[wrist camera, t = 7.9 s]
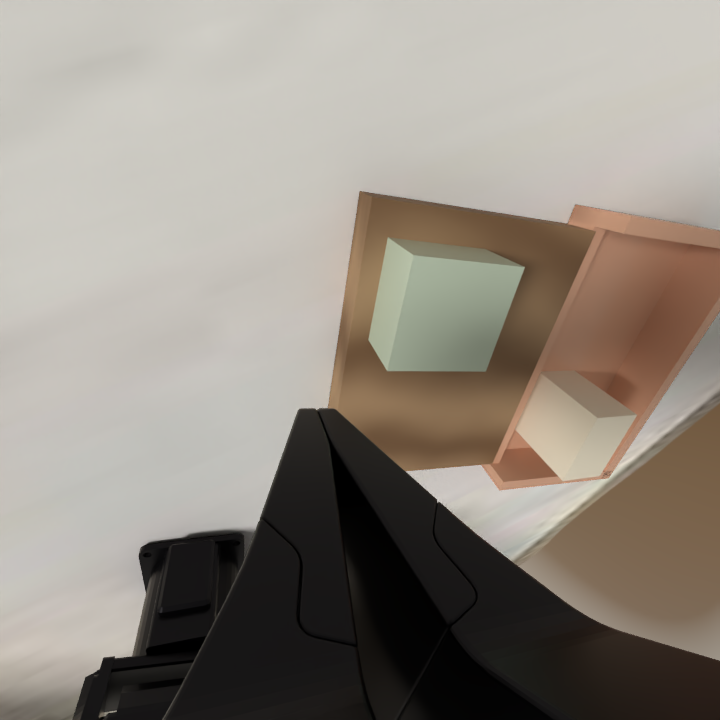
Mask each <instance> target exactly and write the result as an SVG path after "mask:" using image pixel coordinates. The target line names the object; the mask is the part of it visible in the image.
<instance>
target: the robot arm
mask: <svg viewBox="0 0 720 720" xmlns="http://www.w3.org/2000/svg"><path fill="white" fill-rule="evenodd" d="M139 560H140V565H141V570H142V575H143V580H144V585H145V590H146V597H145V601H144V606H143V610H142V615H141V619H140V624H139V628H138V633H137V637H136V642H135V646H134V651H133V655H132V657H124V658H115V656H114V657H104V658H103V661H102V664H101V667H100V670H97V672H95V673H93V674H91V675H89V676H87V677H85V681H84V684H83V687H82V690H81V694H80V697H79V700H78V704H77V707H76V710H75V713H74V716H73V719H72V720H720V661H719V660H715V659H712V658H709V657H705V656H702V655H699V654H695V653H692V652H689V651H685V650H682V649H679V648H675V647H672V646H669V645H665V644H662V643H658V642H655V641H652V640H648V639H645V638H641V637H638V636H635V635H632V634H628V633H625V632H622V631H619V630H616V629H613V628H610V627H608V626H606V625H603V624H601V623H599V622H597V621H595V620H593V619H591V618H589V617H588V616H586V615H584V614H583V613H581V612H579V611H578V610H576V609H575V608H573V607H572V606H570V605H569V604H567V603H566V602H565V601H563V600H562V599H561V598H559V597H558V596H556V595H555V594H554V593H553V592H551V591H550V590H549V589H548V588H546V587H545V586H544V585H542V584H541V583H540V582H538V581H537V580H536V579H534V578H533V577H532V576H530V575H529V574H528V573H526V572H525V571H524V570H522V569H521V568H520V567H518V566H517V565H516V564H514V563H513V562H512V561H511V560H509V559H508V558H507V557H505V556H504V555H503V554H501V553H500V552H499V551H497V550H496V549H495V548H494V547H492V546H491V545H490V544H489V543H487V542H486V541H485V540H483V539H482V538H481V537H480V536H478V535H477V534H476V533H475V532H473V531H472V530H471V529H470V528H469V527H468V526H466V525H465V524H464V523H463V522H462V521H461V520H459V519H458V518H457V517H456V516H455V515H454V514H452V513H451V512H450V511H449V510H448V509H447V508H446V507H445V506H444V505H442V504H441V503H440V502H438V503H437V499H436V498H434V497H433V496H432V495H431V494H430V493H429V492H428V491H427V490H425V489H424V488H423V487H422V486H421V485H420V484H419V483H418V482H417V481H415V480H414V479H413V478H412V477H411V476H410V475H409V474H408V473H406V472H405V471H404V470H403V469H402V468H401V467H400V466H399V465H398V464H396V463H395V462H394V461H393V460H392V459H391V458H390V457H389V456H388V455H386V454H385V453H384V452H383V451H382V450H381V449H380V448H379V447H377V446H376V445H375V444H374V443H373V442H372V441H371V440H370V439H369V438H367V437H366V436H365V435H364V434H363V433H362V432H361V431H360V430H358V429H357V428H356V427H355V426H354V425H353V424H352V423H351V422H350V421H348V420H347V419H346V418H345V417H344V416H343V415H342V414H341V413H339V412H338V411H337V410H336V409H334V408H320V409H318V410H316V409H314V408H308V409H299V410H298V412H297V415H296V417H295V420H294V423H293V426H292V429H291V432H290V435H289V437H288V440H287V443H286V446H285V449H284V452H283V454H282V457H281V460H280V463H279V466H278V469H277V471H276V474H275V477H274V480H273V483H272V486H271V488H270V491H269V494H268V497H267V500H266V503H265V505H264V508H263V511H262V514H261V517H260V521H259V522H258V524H257V527H256V530H255V533H254V536H253V539H252V541H251V544H250V546H249V549H248V551H247V554H246V556H245V559H244V536H243V535H242V534H231V535H222V536H214V537H206V538H198V539H189V540H181V541H173V542H165V543H157V544H148V545H144V546H142V547H141V549H140V552H139ZM115 710H117V712H114V713H108V714H107V715H106V716H104V712H109V711H115ZM103 716H104V717H103Z"/></svg>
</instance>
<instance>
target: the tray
mask: <svg viewBox="0 0 720 720" xmlns="http://www.w3.org/2000/svg"><path fill="white" fill-rule="evenodd" d="M568 224H570V225H574V226H578V227H581V228H585V229H589V230H593V231H596V233H595V235H594V237H593V239H592V242H591V244H590V246H589V248H588V251H587V253H586V255H585V257H584V260H583V262H582V264H581V266H580V268H579V271H578V273H577V275H576V277H575V280H574V282H573V284H572V286H571V289H570V291H569V293H568V295H567V298H566V300H565V302H564V304H563V307H562V309H561V311H560V313H559V315H558V318H557V320H556V322H555V324H554V327H553V329H552V331H551V333H550V336H549V338H548V340H547V342H546V345H545V347H544V349H543V351H542V354H541V356H540V358H539V360H538V362H537V365H536V367H535V369H534V371H533V374H532V376H531V378H530V380H529V383H528V385H527V387H526V389H525V392H524V394H523V396H522V398H521V400H520V403H519V405H518V407H517V409H516V412H515V414H514V416H513V418H512V421H511V423H510V425H509V427H508V430H507V432H506V434H505V436H504V439H503V441H502V443H501V445H500V447H499V450H498V452H497V454H496V456H495V459H494V461H493V463H492V464H484V465H482V467H483V468H484V470H485V471H486V472H487V474H488V475H489V476H490V478H491V479H492V481H493V482H494V483H495V485H496V486H497V488H498V489H499V490H507V489H516V488H525V487H534V486H543V485H552V484H561V483H570V482H579V481H588V480H597V479H606V478H609V477H610V475H611V474H612V472H613V471H614V469H615V468H616V466H617V465H618V463H619V462H620V460H621V459H622V457H623V456H624V454H625V453H626V451H627V450H628V448H629V447H630V445H631V444H632V442H633V441H634V439H635V438H636V436H637V435H638V433H639V432H640V430H641V429H642V427H643V426H644V424H645V423H646V421H647V420H648V418H649V417H650V415H651V414H652V412H653V411H654V409H655V408H656V406H657V405H658V403H659V402H660V400H661V399H662V397H663V396H664V394H665V393H666V391H667V390H668V388H669V387H670V385H671V384H672V382H673V381H674V379H675V378H676V376H677V375H678V373H679V372H680V370H681V369H682V367H683V366H684V364H685V363H686V361H687V360H688V358H689V357H690V355H691V354H692V352H693V351H694V349H695V348H696V346H697V345H698V343H699V342H700V340H701V339H702V337H703V336H704V334H705V333H706V331H707V330H708V328H709V327H710V325H711V324H712V322H713V321H714V319H715V318H716V316H717V315H718V313H719V312H720V231H719V230H714V229H709V228H704V227H698V226H693V225H687V224H682V223H676V222H670V221H665V220H659V219H654V218H648V217H642V216H637V215H631V214H626V213H620V212H614V211H609V210H603V209H598V208H592V207H586V206H581V205H575V207H574V209H573V212H572V214H571V217H570V219H569V222H568ZM572 370H574V371H576V372H577V373H579V374H580V375H582V376H583V377H584V378H586V379H587V380H589V381H590V382H591V383H593V384H594V385H596V386H597V387H598V388H600V389H601V390H603V391H604V392H606V393H607V394H608V395H610V396H611V397H613V398H614V399H615V400H617V401H618V402H620V403H621V404H623V405H624V406H625V407H627V408H628V409H630V410H631V411H632V412H634V413H635V414H637V416H636V418H635V419H634V421H633V423H632V424H631V426H630V428H629V429H628V431H627V433H626V434H625V436H624V437H623V439H622V441H621V442H620V444H619V446H618V447H617V449H616V450H615V452H614V454H613V455H612V457H611V459H610V460H609V462H608V463H607V465H606V467H605V468H604V470H603V472H602V473H601V475H600V476H597V477H590V478H582V479H575V480H568V481H562V480H561V479H560V478H559V477H558V476H557V474H556V473H555V472H554V471H553V470H552V469H551V468H550V467H549V466H548V465H547V464H546V463H545V461H544V460H543V459H542V458H541V457H540V456H539V455H538V454H537V453H536V452H535V451H534V450H533V448H532V447H531V446H530V445H529V444H528V443H527V442H526V441H525V440H524V439H523V438H522V437H521V435H520V434H519V433H518V432H517V431H516V430H515V427H516V425H517V423H518V421H519V419H520V416H521V414H522V412H523V410H524V408H525V405H526V403H527V401H528V399H529V397H530V395H531V392H532V390H533V388H534V386H535V384H536V381H537V379H538V377H539V375H540V373H541V372H542V371H572Z"/></svg>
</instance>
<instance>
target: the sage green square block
mask: <svg viewBox="0 0 720 720" xmlns="http://www.w3.org/2000/svg"><path fill="white" fill-rule="evenodd" d="M524 268H525V267H523V266H521V265H519V264H517V263H515V262H512V261H510V260H508V259H506V258H504V257H502V256H499V255H497V254H495V253H493V252H491V251H489V250H486V249H481V248H472V247H464V246H456V245H447V244H439V243H431V242H423V241H414V240H406V239H398V238H389V237H388V239H387V244H386V249H385V255H384V260H383V265H382V271H381V276H380V281H379V286H378V292H377V297H376V302H375V307H374V313H373V318H372V323H371V328H370V334H369V339H368V340H369V342H370V343H371V345H372V347H373V348H374V350H375V352H376V353H377V355H378V357H379V358H380V360H381V362H382V363H383V365H384V367H385V368H386V370H387V371H475V372H486V370H487V367H488V364H489V362H490V359H491V356H492V354H493V351H494V348H495V346H496V343H497V340H498V338H499V335H500V332H501V330H502V327H503V324H504V322H505V319H506V316H507V314H508V311H509V308H510V306H511V303H512V300H513V298H514V295H515V292H516V290H517V287H518V284H519V282H520V279H521V276H522V274H523V271H524Z"/></svg>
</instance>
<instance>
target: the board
mask: <svg viewBox="0 0 720 720" xmlns="http://www.w3.org/2000/svg"><path fill="white" fill-rule="evenodd" d="M595 233H596V231H593V230H589V229H585V228H581V227H578V226H574V225H570V224H565V223H559V222H552V221H546V220H540V219H533V218H527V217H521V216H514V215H508V214H502V213H495V212H489V211H482V210H476V209H470V208H463V207H457V206H451V205H444V204H438V203H432V202H425V201H419V200H412V199H406V198H400V197H393V196H387V195H381V194H374V193H368V192H362V191H360V193H359V200H358V207H357V214H356V220H355V227H354V234H353V241H352V248H351V254H350V261H349V268H348V275H347V282H346V288H345V295H344V302H343V309H342V316H341V323H340V329H339V336H338V343H337V350H336V357H335V363H334V370H333V377H332V384H331V391H330V397H329V404H328V408H334V409H336V410H337V411H338V412H339V413H341V414H342V415H343V416H344V417H345V418H346V419H347V420H348V421H350V422H351V423H352V424H353V425H354V426H355V427H356V428H357V429H358V430H360V431H361V432H362V433H363V434H364V435H365V436H366V437H367V438H369V439H370V440H371V441H372V442H373V443H374V444H375V445H376V446H377V447H379V448H380V449H381V450H382V451H383V452H384V453H385V454H386V455H388V456H389V457H390V458H391V459H392V460H393V461H394V462H395V463H396V464H398V465H399V466H400V467H401V468H402V469H403V470H404V471H413V470H424V469H436V468H448V467H460V466H472V465H484V464H492V463H493V461H494V459H495V456H496V454H497V452H498V450H499V447H500V445H501V443H502V441H503V439H504V436H505V434H506V432H507V430H508V427H509V425H510V423H511V421H512V418H513V416H514V414H515V412H516V409H517V407H518V405H519V403H520V400H521V398H522V396H523V394H524V392H525V389H526V387H527V385H528V383H529V380H530V378H531V376H532V374H533V371H534V369H535V367H536V365H537V362H538V360H539V358H540V356H541V354H542V351H543V349H544V347H545V345H546V342H547V340H548V338H549V336H550V333H551V331H552V329H553V327H554V324H555V322H556V320H557V318H558V315H559V313H560V311H561V309H562V307H563V304H564V302H565V300H566V298H567V295H568V293H569V291H570V289H571V286H572V284H573V282H574V280H575V277H576V275H577V273H578V271H579V268H580V266H581V264H582V262H583V260H584V257H585V255H586V253H587V251H588V248H589V246H590V244H591V242H592V239H593V237H594V235H595ZM388 237H389V238H398V239H406V240H414V241H423V242H431V243H439V244H447V245H456V246H464V247H472V248H481V249H486V250H489V251H491V252H493V253H495V254H497V255H499V256H502V257H504V258H506V259H508V260H510V261H512V262H515V263H517V264H519V265H521V266H523V267H525V268H524V271H523V274H522V276H521V279H520V282H519V284H518V287H517V290H516V292H515V295H514V298H513V300H512V303H511V306H510V308H509V311H508V314H507V316H506V319H505V322H504V324H503V327H502V330H501V332H500V335H499V338H498V340H497V343H496V346H495V348H494V351H493V354H492V356H491V359H490V362H489V364H488V367H487V370H486V372H475V371H387V370H386V368H385V367H384V365H383V363H382V362H381V360H380V358H379V357H378V355H377V353H376V352H375V350H374V348H373V347H372V345H371V343H370V342H369V340H368V339H369V334H370V328H371V323H372V318H373V313H374V307H375V302H376V297H377V292H378V286H379V281H380V276H381V271H382V265H383V260H384V255H385V249H386V244H387V239H388Z"/></svg>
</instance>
